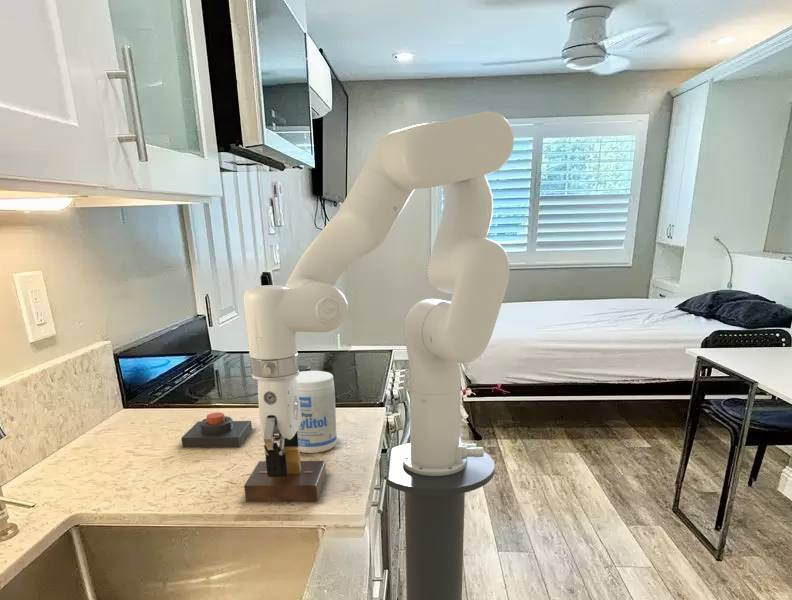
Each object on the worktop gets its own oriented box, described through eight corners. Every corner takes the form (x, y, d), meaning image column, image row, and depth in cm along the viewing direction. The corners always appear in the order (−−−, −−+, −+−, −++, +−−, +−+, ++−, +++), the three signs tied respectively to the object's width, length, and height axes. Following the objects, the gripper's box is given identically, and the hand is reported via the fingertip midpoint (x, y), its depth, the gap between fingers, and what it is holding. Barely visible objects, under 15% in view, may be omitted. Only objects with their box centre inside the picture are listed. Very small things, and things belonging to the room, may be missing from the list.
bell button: (227, 419, 123) (226, 412, 122) (222, 425, 119) (220, 417, 119) (210, 420, 123) (209, 412, 122) (205, 425, 120) (204, 418, 119)
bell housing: (252, 430, 127) (250, 413, 125) (239, 447, 117) (237, 429, 116) (199, 430, 127) (196, 413, 126) (182, 447, 118) (179, 429, 117)
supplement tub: (295, 457, 111) (288, 385, 106) (286, 441, 120) (280, 373, 114) (343, 450, 114) (339, 379, 109) (331, 434, 123) (327, 367, 117)
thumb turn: (301, 470, 98) (298, 445, 97) (299, 473, 97) (297, 448, 95) (272, 470, 99) (269, 445, 97) (270, 474, 97) (267, 448, 96)
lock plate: (326, 475, 103) (324, 459, 102) (317, 501, 94) (316, 484, 93) (261, 476, 104) (259, 460, 103) (246, 501, 95) (243, 484, 94)
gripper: (286, 380, 83) (296, 486, 89) (307, 353, 99) (314, 445, 105) (236, 380, 83) (248, 486, 89) (264, 354, 99) (273, 445, 105)
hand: (284, 464), depth 97 cm, fingers open, 9 cm apart
